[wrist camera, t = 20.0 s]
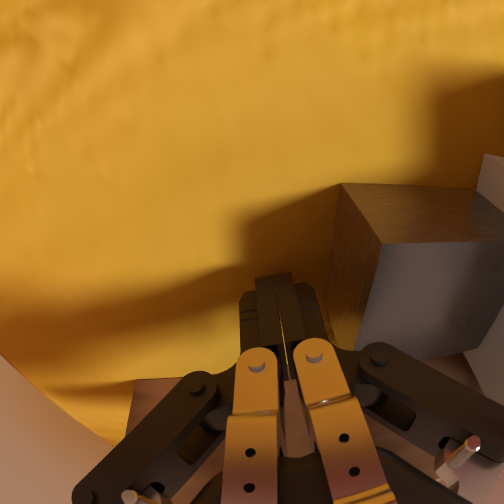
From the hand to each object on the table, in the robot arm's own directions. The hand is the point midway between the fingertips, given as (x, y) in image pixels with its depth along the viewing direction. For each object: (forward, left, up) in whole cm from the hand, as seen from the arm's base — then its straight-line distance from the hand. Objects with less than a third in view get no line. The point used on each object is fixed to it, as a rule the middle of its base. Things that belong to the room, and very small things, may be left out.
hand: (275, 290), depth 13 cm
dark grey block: (-6, 0, -1) cm, 6 cm away
